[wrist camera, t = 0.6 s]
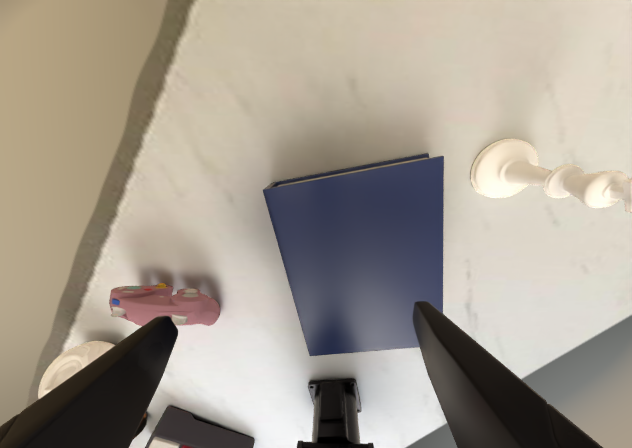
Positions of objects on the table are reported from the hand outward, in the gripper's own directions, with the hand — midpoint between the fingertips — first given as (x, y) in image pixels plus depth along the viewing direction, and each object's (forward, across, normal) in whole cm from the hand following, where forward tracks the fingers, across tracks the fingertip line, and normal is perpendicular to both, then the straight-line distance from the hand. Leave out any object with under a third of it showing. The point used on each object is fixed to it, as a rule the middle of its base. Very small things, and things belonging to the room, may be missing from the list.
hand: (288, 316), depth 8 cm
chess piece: (+14, -17, 0) cm, 22 cm away
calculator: (+10, +23, +40) cm, 48 cm away
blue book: (+14, -4, +8) cm, 16 cm away
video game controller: (+14, +17, +11) cm, 24 cm away
